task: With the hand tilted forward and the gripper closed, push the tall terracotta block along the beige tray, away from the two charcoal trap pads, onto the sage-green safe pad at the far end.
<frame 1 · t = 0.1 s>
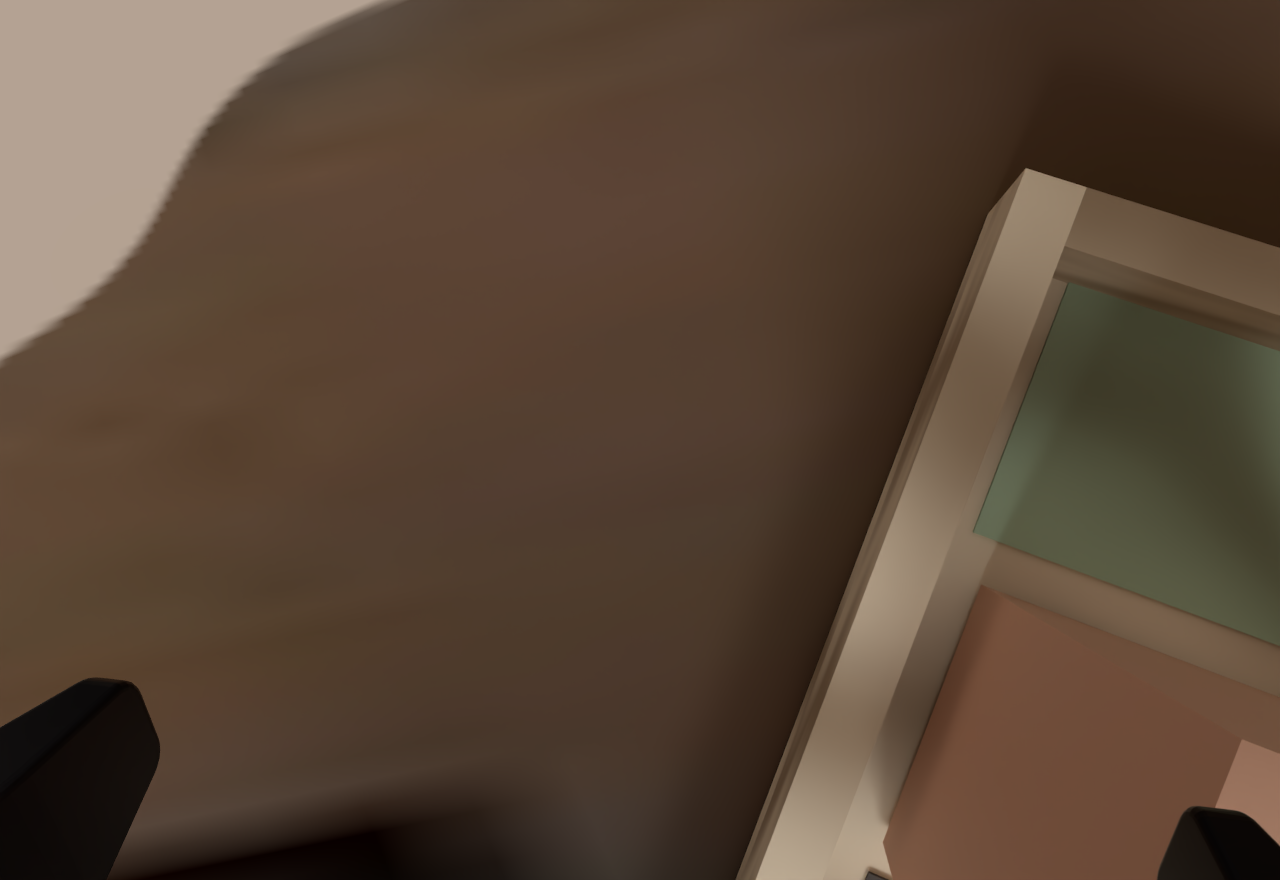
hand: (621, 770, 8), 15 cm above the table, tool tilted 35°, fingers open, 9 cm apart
beige tray: (1057, 801, 22), on the table
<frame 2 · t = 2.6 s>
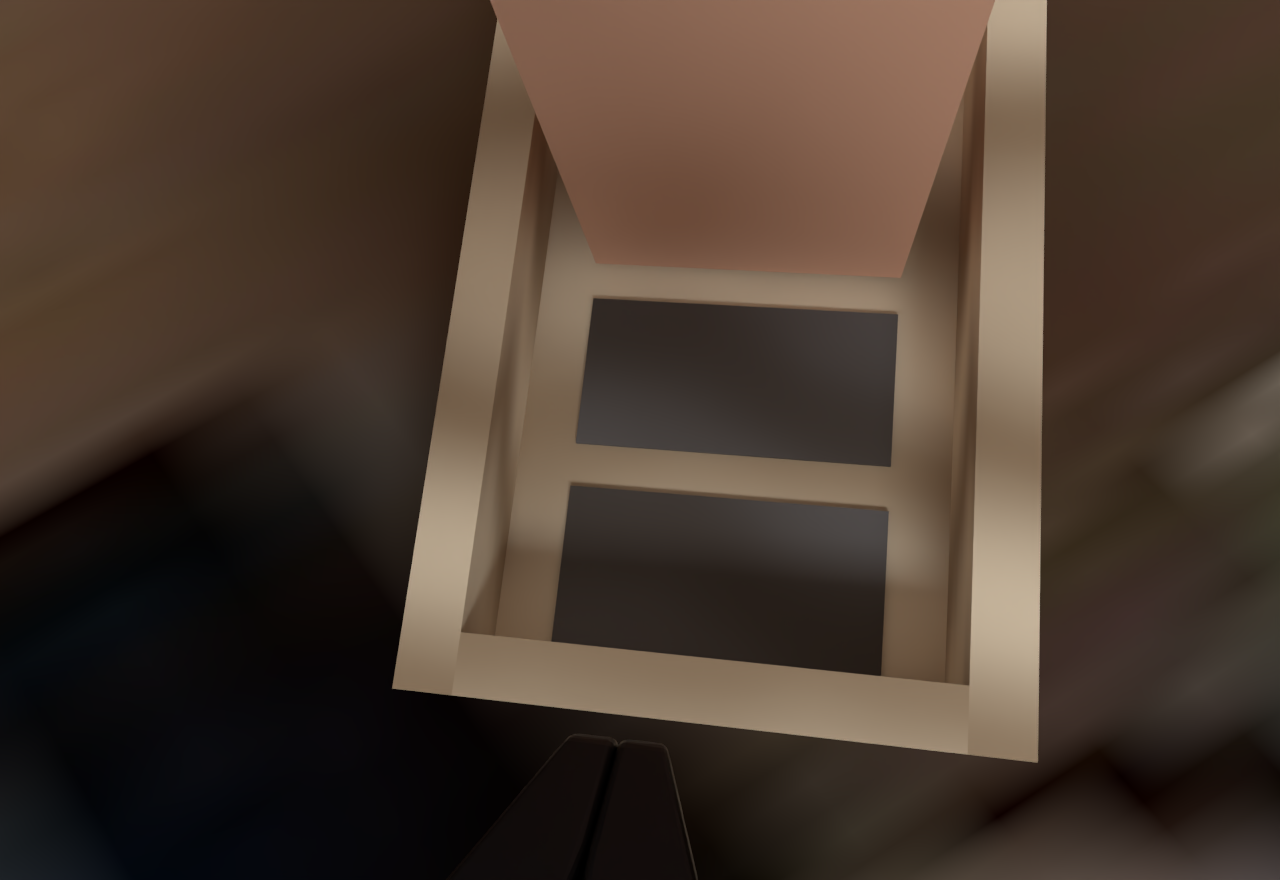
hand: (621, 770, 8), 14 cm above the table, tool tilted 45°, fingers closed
beige tray: (752, 216, 24), on the table
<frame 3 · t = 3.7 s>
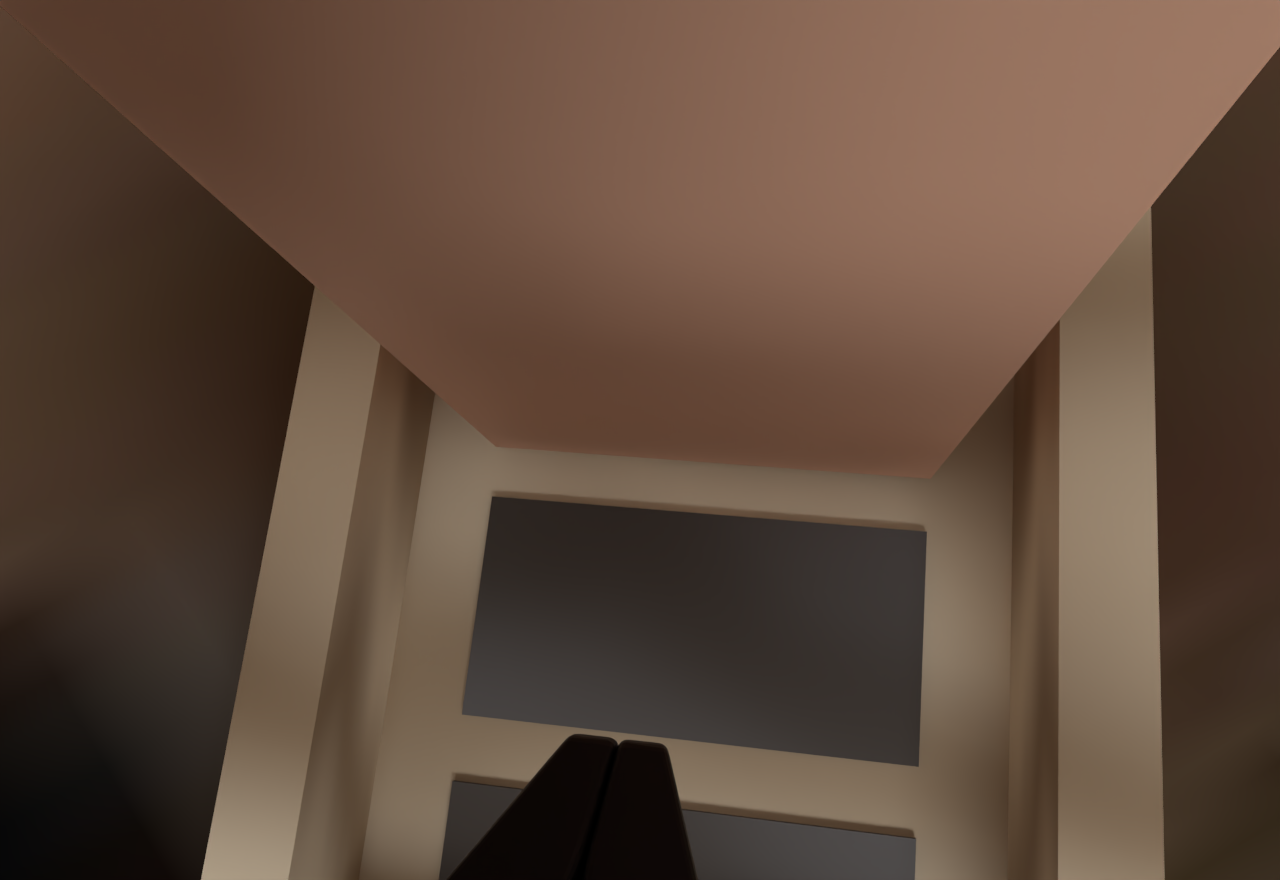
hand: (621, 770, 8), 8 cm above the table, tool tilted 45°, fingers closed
block: (698, 72, 11), point 7 cm above the table, slide at 0.0 cm
beige tray: (720, 369, 17), on the table
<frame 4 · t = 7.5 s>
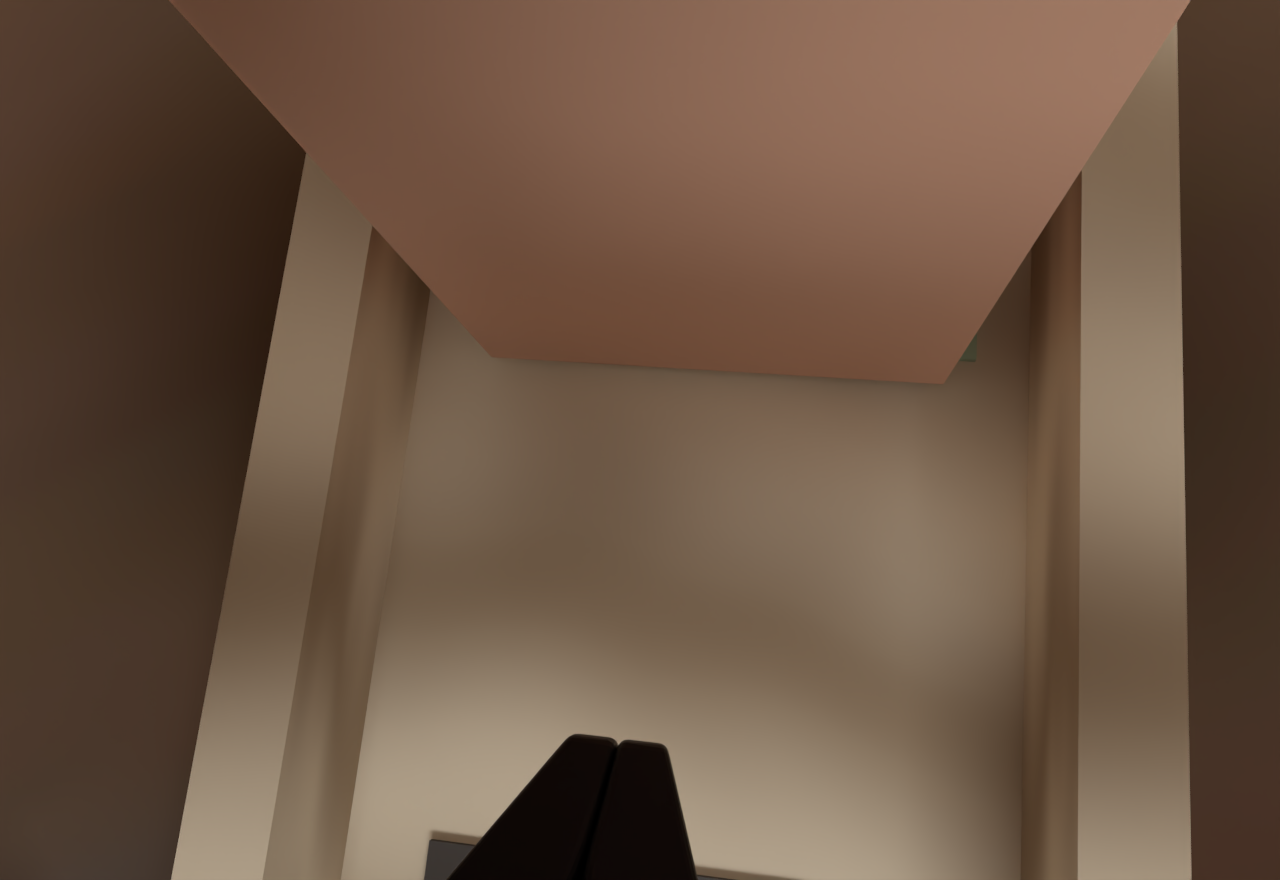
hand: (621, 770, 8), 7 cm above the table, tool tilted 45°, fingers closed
beige tray: (690, 668, 15), on the table
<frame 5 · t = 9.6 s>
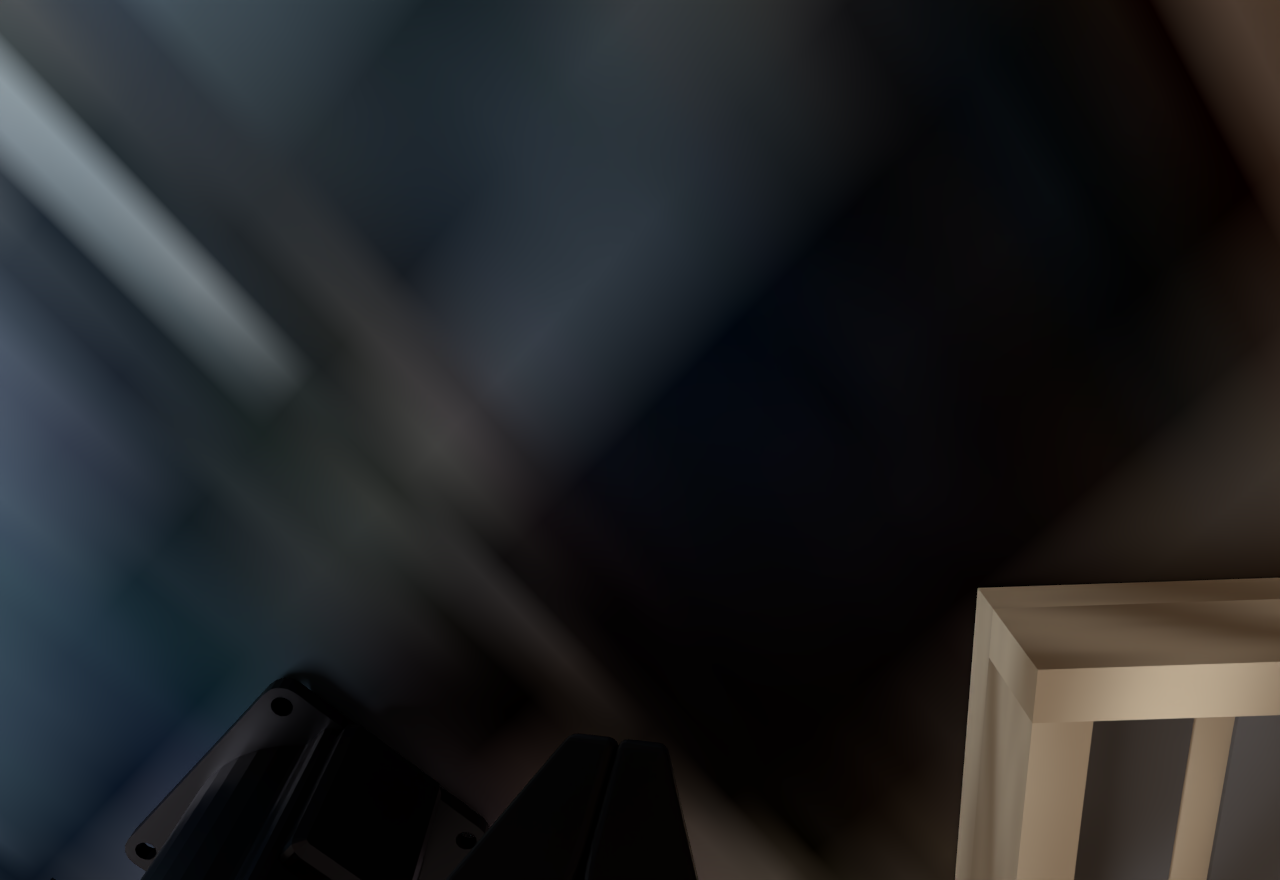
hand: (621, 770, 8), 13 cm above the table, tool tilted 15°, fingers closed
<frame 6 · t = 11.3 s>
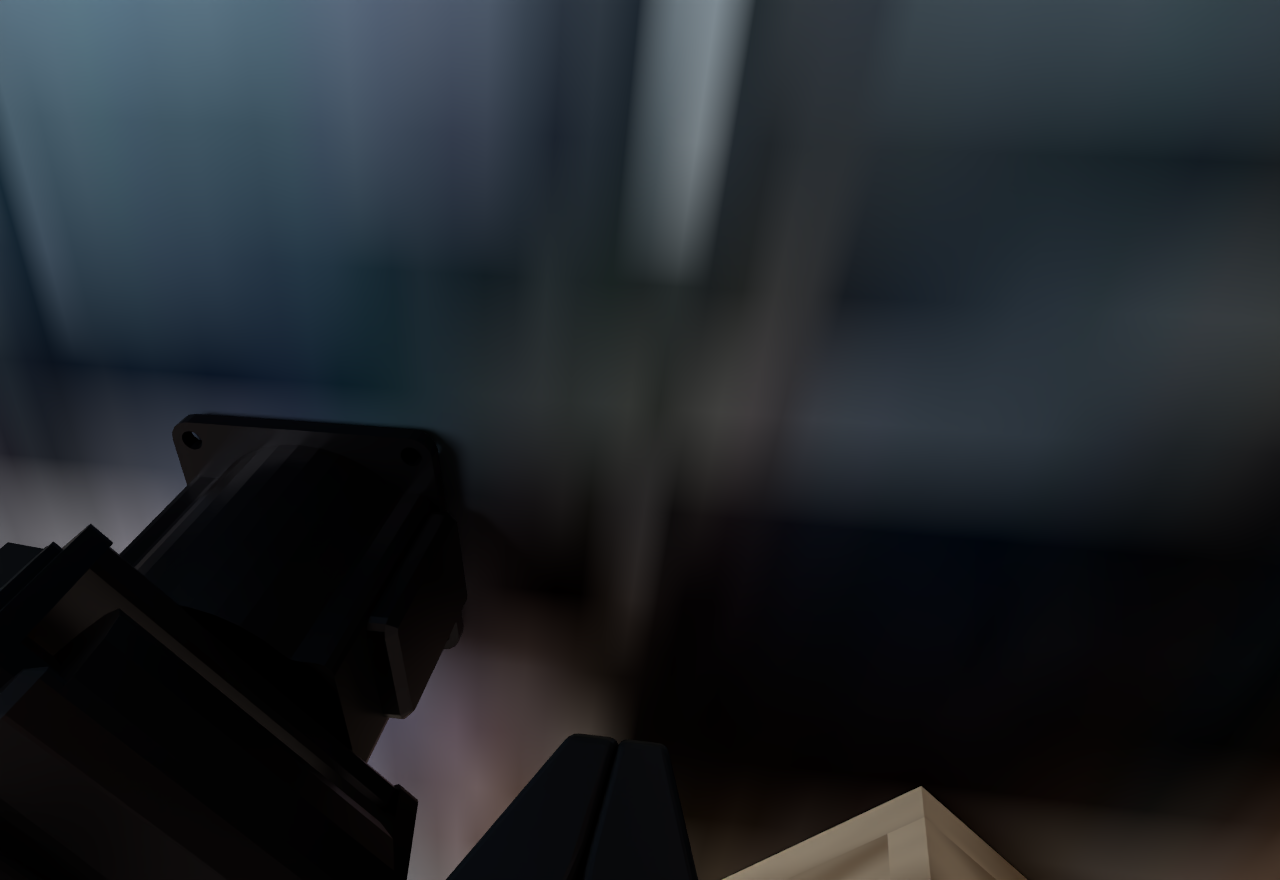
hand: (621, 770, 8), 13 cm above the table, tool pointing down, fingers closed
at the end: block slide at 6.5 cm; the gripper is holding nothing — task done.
